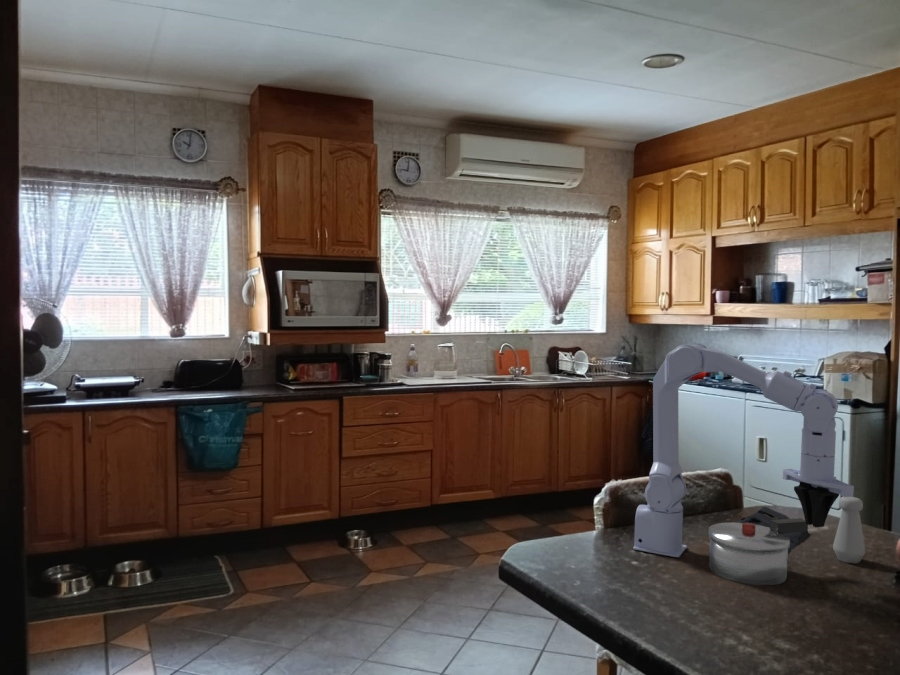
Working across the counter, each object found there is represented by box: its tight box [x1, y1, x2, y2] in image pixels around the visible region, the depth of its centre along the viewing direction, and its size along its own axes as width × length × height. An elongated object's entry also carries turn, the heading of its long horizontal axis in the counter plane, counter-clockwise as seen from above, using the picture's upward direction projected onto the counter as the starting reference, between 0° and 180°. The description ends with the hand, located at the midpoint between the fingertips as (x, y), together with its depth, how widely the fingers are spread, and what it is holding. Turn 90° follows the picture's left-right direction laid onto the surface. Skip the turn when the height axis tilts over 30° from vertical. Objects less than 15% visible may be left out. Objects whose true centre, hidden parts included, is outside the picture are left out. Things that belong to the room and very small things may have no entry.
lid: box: [708, 517, 809, 552], centre depth 140 cm, size 20×15×3 cm
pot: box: [708, 537, 789, 586], centre depth 142 cm, size 20×14×6 cm
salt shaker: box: [832, 496, 866, 564], centre depth 148 cm, size 6×6×13 cm
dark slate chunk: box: [736, 506, 810, 554], centre depth 163 cm, size 15×22×5 cm
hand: (814, 525), depth 136 cm, fingers closed
